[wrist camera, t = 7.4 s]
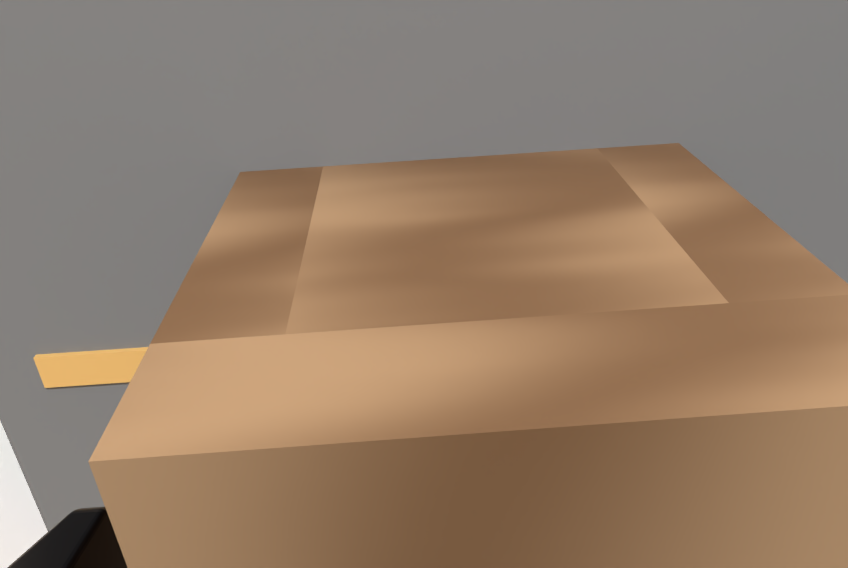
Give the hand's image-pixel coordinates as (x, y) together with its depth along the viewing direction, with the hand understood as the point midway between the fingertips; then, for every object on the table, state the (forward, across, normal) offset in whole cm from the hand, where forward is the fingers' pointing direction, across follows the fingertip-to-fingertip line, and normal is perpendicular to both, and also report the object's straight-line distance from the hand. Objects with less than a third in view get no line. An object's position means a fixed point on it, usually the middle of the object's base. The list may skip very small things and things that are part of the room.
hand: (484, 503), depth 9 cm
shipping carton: (+4, 0, 0) cm, 4 cm away
